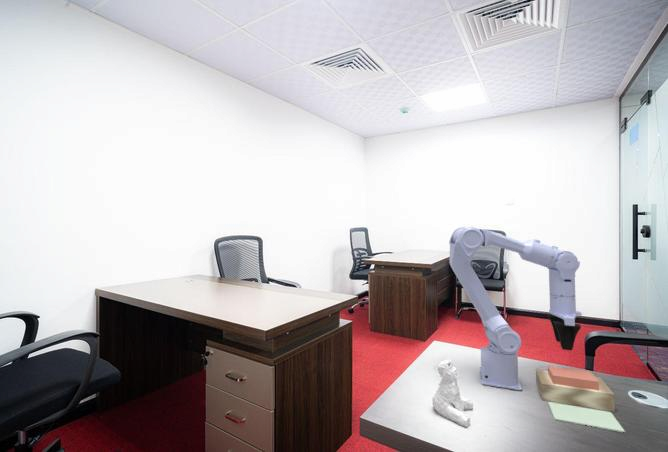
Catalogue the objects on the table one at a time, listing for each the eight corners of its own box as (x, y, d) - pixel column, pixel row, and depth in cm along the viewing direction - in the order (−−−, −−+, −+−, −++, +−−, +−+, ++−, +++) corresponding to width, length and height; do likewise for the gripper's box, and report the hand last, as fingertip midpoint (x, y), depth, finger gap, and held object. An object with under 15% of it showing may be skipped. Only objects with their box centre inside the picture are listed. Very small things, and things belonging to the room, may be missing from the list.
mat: (554, 419, 71) (554, 418, 71) (548, 403, 78) (548, 401, 78) (624, 432, 66) (624, 431, 66) (610, 413, 73) (610, 412, 73)
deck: (542, 400, 79) (541, 383, 79) (536, 384, 87) (535, 369, 87) (614, 412, 73) (614, 394, 73) (600, 393, 81) (600, 377, 81)
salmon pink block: (553, 383, 79) (552, 375, 79) (548, 373, 84) (547, 365, 84) (599, 390, 75) (598, 381, 75) (590, 379, 81) (590, 371, 81)
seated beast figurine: (469, 429, 68) (468, 372, 68) (428, 419, 72) (426, 365, 72) (473, 407, 76) (472, 356, 77) (436, 399, 80) (435, 351, 81)
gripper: (589, 301, 79) (590, 357, 78) (572, 290, 92) (574, 338, 92) (554, 299, 82) (556, 353, 81) (543, 289, 95) (545, 335, 95)
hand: (563, 345), depth 87 cm, fingers open, 6 cm apart
